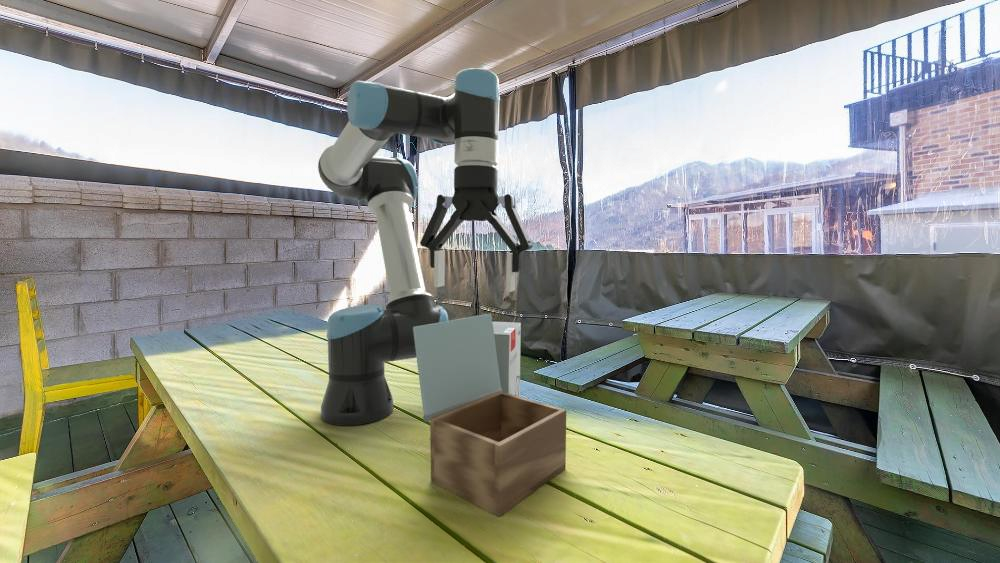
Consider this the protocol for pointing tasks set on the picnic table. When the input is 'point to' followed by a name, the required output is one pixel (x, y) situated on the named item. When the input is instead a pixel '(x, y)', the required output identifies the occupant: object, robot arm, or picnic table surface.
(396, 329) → the robot arm
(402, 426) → the picnic table surface
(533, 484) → the crate
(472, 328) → the lid
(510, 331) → the hard drive box
